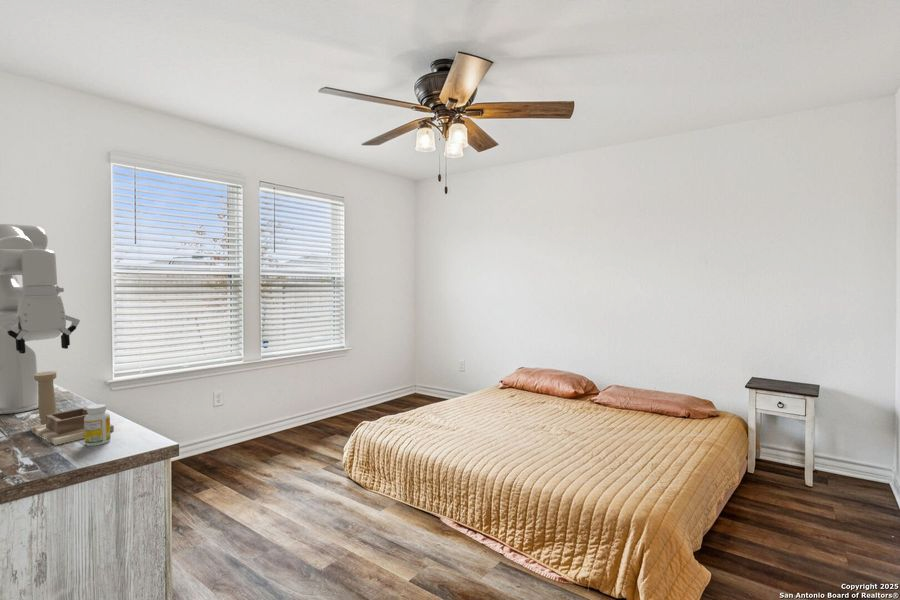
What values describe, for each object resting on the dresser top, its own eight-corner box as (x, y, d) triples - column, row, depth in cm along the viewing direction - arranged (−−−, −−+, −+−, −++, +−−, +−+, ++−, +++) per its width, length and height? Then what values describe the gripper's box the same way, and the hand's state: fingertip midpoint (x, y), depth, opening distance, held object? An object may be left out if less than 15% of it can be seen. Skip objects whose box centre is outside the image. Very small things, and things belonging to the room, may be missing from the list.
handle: (36, 428, 131) (33, 376, 130) (37, 422, 136) (34, 372, 135) (58, 424, 134) (56, 374, 133) (59, 419, 139) (56, 370, 138)
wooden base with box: (32, 432, 127) (31, 414, 127) (88, 419, 138) (88, 403, 138) (54, 445, 117) (53, 426, 117) (113, 430, 128) (113, 413, 128)
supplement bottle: (93, 447, 116) (91, 410, 115) (80, 444, 118) (78, 408, 117) (115, 440, 121) (114, 404, 120) (102, 437, 123) (100, 402, 122)
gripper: (72, 291, 142) (76, 345, 143) (-4, 293, 127) (-1, 353, 128) (82, 291, 138) (85, 347, 138) (3, 293, 123) (7, 356, 124)
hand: (44, 350), depth 133 cm, fingers open, 9 cm apart
